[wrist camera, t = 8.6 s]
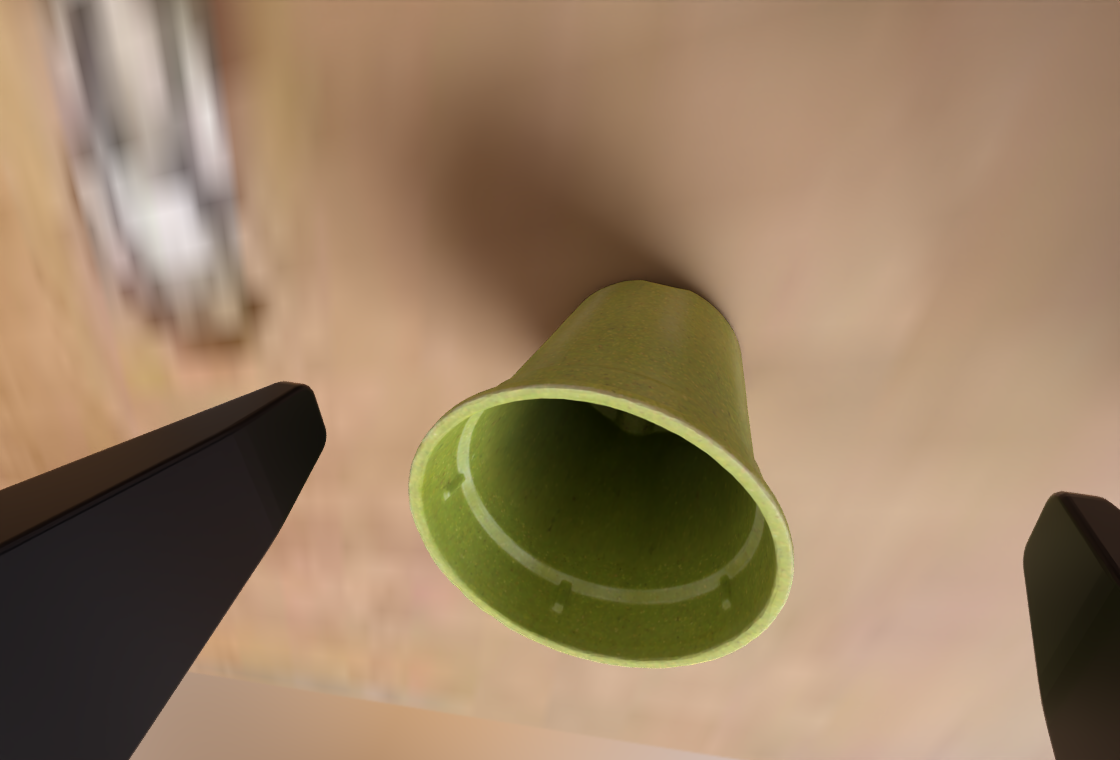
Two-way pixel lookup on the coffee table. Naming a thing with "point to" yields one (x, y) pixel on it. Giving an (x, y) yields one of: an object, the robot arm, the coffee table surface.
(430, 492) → the plant pot
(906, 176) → the coffee table surface
